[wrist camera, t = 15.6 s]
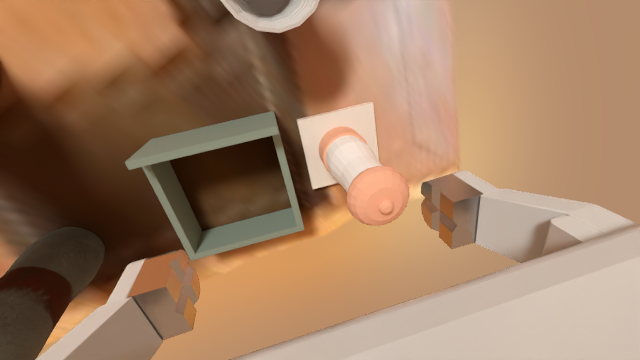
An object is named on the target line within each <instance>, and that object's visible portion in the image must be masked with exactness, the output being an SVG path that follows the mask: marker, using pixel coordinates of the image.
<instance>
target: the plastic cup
mask: <svg viewBox="0 0 640 360" xmlns="http://www.w3.org/2000/svg"><path fill="white" fill-rule="evenodd" d="M220 1H221V2H222V3H223V4H224V5H225V7H226V8H227V9H228V10H229V11H230V12H231V14H232V15H233V16H234V17H235V18H236V19H238V20H239V21H241V22H243V23H245V24H246V25H248V26H250V27H252V28H254V29H255V30H257V31H266V32H275V33H281V32H284V31H287V30H289V29H292V28H295V27H298V26H300V25H301V24H302V23H303V22H304V21H305V20H306V19H307V18H308V17H309V16H310V15H311V14H312V13H313V12H314V11H315V10H316V8H317V5H318V3H319V1H320V0H220Z"/></svg>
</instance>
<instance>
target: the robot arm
mask: <svg viewBox="0 0 640 360" xmlns="http://www.w3.org/2000/svg"><path fill="white" fill-rule="evenodd" d="M421 194H422V195H423V196H424V197H425V199H424V200H423V202H422V204H421V208H422V214H423V217H424V220H425V222H426V223H427V225H428V226H429V227H430V228H431V229H434V230H436V231H439V237H440V238H441V239H442V240H443V241H444V242H445V243H446V244H447V245H448V246H449V247H450V248H451V249H453V248H457V247H460V246H464V245H467V244H471V243H475V242H476V244H478V245H480V246H482V247H485V248H487V249H490V250H492V251H494V252H496V253H499V254H501V255H503V256H506V257H508V258H510V259H513V260H515V261H517V262H520V263H521V264H518V265H515V266H512V267H509V268H506V269H503V270H500V271H497V272H494V273H491V274H488V275H485V276H482V277H479V278H476V279H473V280H470V281H466V282H464V283H460V284H457V285H454V286H451V287H448V288H445V289H442V290H439V291H436V292H433V293H430V294H427V295H424V296H421V297H418V298H415V299H412V300H408V301H405V302H402V303H399V304H397V305H393V306H390V307H387V308H384V309H381V310H378V311H375V312H372V313H369V314H366V315H363V316H360V317H357V318H354V319H351V320H348V321H345V322H342V323H339V324H336V325H333V326H330V327H327V328H324V329H321V330H318V331H315V332H312V333H309V334H306V335H303V336H300V337H297V338H294V339H291V340H288V341H285V342H281V343H279V344H276V345H273V346H269V347H266V348H263V349H260V350H257V351H254V352H251V353H249V354H245V355H242V356H239V357H236V358H233V359H230V360H640V224H639V225H638V224H636V223H634V222H632V221H630V220H628V219H625V218H623V217H621V216H619V215H617V214H615V213H613V212H611V211H608V210H606V209H604V208H602V207H600V206H598V205H595V204H590V203H584V202H579V201H573V200H567V199H561V198H555V197H549V196H544V195H538V194H532V193H526V192H520V191H515V190H510V189H500V190H499V189H497V188H495V187H494V186H492V185H491V184H489V183H487V182H485V181H484V180H482V179H480V178H478V177H477V176H475V175H473V174H471V173H470V172H468V171H463V170H462V171H458V172H455V173H452V174H449V175H446V176H443V177H440V178H436V179H433V180H430V181H426V182H423V183H422V186H421ZM188 261H189V258H188V256H187V255H186V253H185V251H183V250H181V249H180V250H177V251H173V252H169V253H165V254H161V255H157V256H153V257H149V258H145V259H142V260H138V261H135V262H132V263H130V264H128V265H127V267H126V269H125V270H124V272H123V274H122V276H121V278H120V279H119V281H118V283H117V285H116V287H115V288H114V290H113V292H112V294H111V296H110V297H109V299H108V301H107V303H106V305H102V306H99V307H98V308H97V309H96V310H95V311H93V312H92V313H91V314H90V315H89V316H87V317H86V318H85V319H84V320H83V321H82V322H80V323H79V324H78V325H77V326H76V327H74V328H73V329H72V330H71V331H70V332H68V333H67V334H66V335H65V336H64V337H62V338H61V339H60V340H59V341H58V342H56V343H55V344H54V345H53V346H52V347H51V348H49V349H48V350H47V351H46V352H45V353H43V354H42V355H41V356H40V357H39V358H37V359H36V360H150V359H151V358H152V356H153V355H154V354H155V352H156V351H157V349H158V348H159V346H160V345H161V344H162V342H163V341H162V340H165V339H167V338H171V337H173V336H176V335H179V334H182V333H185V332H188V331H191V330H192V329H193V325H194V321H195V316H196V309H195V308H194V306H193V305H194V304H195V302H197V300H198V299H199V294H200V283H199V279H198V276H197V273H196V271H195V269H193V268H191V267H189V266H187V265H188Z"/></svg>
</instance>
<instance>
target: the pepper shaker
mask: <svg viewBox="0 0 640 360" xmlns="http://www.w3.org/2000/svg"><path fill="white" fill-rule="evenodd" d="M318 151H319V156H320V158H321V160H322V162H323V164H324V166H325V168H326V169H327V171H329V172H330V173H331V174H332V176H333V178H334V179H335V180H336V181H337V182H338V183H339V184H340V185H341V186H342V187H343V188H345V190H346V192H347V205H348V209H349V211H350V213H351V214H352V216H354V217H355V218H356V219H358V220H359V221H360V222H362V223H364V224H367V225H384V224H387V223H390V222H392V221H393V220H395V219H396V218H398V216H400V215H401V214H402V212H403V211H404V209H405V208H406V206H407V202H408V199H409V187H408V184H407V182H406V180H405V177H404V176H403V175H402V174H401V173H400V172H399V171H398V170H396V169H393V168H391V167H387V166H382V165H381V164H380V163H379V161H378V159H377V157H376V155H375V154H374V152H373V150H372V149H371V148H370V147H369V146H368V145H367V143H366V141H365V139H364V138H363V137H362V136H360V135H359V134H358V133H357V132H356V131H355V130H354V129H351V128H349V127H343V126H340V127H336V128H333V129H331V130H329V131H328V132H327V133H326V134H325V135H324V136H323V137H322V139H321V141H320V143H319V150H318Z"/></svg>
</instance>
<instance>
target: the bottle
mask: <svg viewBox="0 0 640 360" xmlns="http://www.w3.org/2000/svg"><path fill="white" fill-rule="evenodd" d="M104 255H105V247H104V244H103V242H102V241H101V239H100V238H99V237H98V236H97V235H95V234H94V233H92V232H90V231H88V230H86V229H83V228H78V227H63V228H60V229H57V230H54V231H52V232H50V233H48V234H46V235H45V236H43V237H42V238H40V239H39V240H37V241H36V242H34V243H33V244H31V245H30V246H29V247H27V248H26V250H25V251H24V252H23V253H22V254H21V255H20V256H19V258H18V259H17V260H16V261H15V262H14V263H13V265H12V266H11V267H10V268H9V270H8V271H7V272H6V273H5V275H4V276H2V277H1V278H0V360H35V359H36V358H37V356H38V355H39V353H40V352H41V350H42V348H43V346H44V345H45V343H46V341H47V339H48V338H49V336H50V334H51V332H52V331H53V329H54V327H55V326H56V324H57V323H58V321H59V319H60V318H61V316H62V315H63V313H64V311H65V310H66V308H67V307H68V305H69V303H70V302H71V301H72V300H73V299H74V298H75V297H76V296H77V295H78V294H79V293H80V292H81V291H82V290H83V289H84V288H85V287H86V286H87V285H88V284H89V283H90V282H91V281H92V280H93V278H94V277H95V275H96V274H97V272H98V270H99V268H100V266H101V264H102V262H103V259H104Z"/></svg>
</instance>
